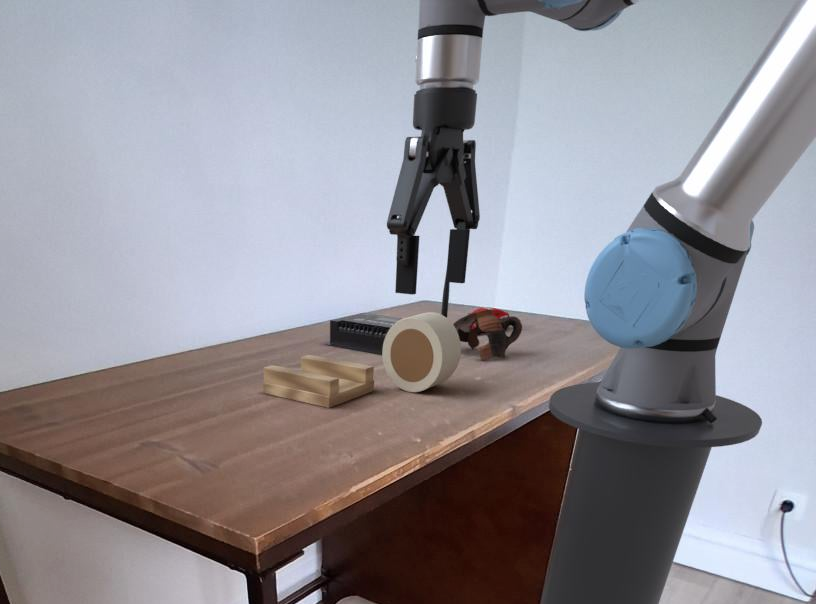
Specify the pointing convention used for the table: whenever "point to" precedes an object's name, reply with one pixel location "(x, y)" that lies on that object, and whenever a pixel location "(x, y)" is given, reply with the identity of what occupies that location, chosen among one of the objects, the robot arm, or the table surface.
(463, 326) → the pottery mug
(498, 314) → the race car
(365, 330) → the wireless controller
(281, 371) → the tape holder
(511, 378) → the table surface
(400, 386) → the tape roll
